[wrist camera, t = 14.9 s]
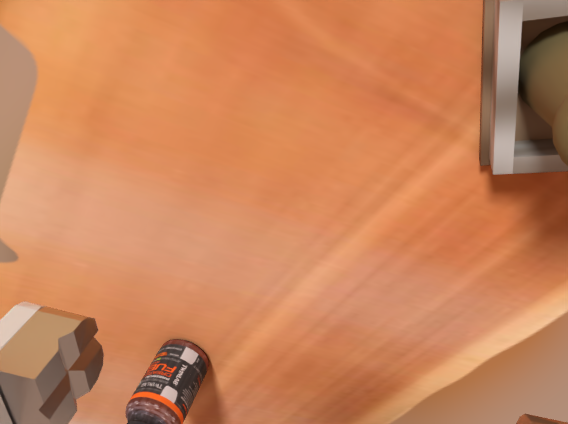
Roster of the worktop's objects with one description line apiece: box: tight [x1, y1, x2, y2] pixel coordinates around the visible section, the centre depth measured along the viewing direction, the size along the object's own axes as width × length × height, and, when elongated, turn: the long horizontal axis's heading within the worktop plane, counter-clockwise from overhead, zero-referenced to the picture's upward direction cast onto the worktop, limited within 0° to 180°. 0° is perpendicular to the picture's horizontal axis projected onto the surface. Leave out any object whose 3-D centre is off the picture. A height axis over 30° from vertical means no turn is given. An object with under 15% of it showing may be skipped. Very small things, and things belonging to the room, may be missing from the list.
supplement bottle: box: [126, 339, 209, 424], centre depth 52 cm, size 6×6×11 cm
